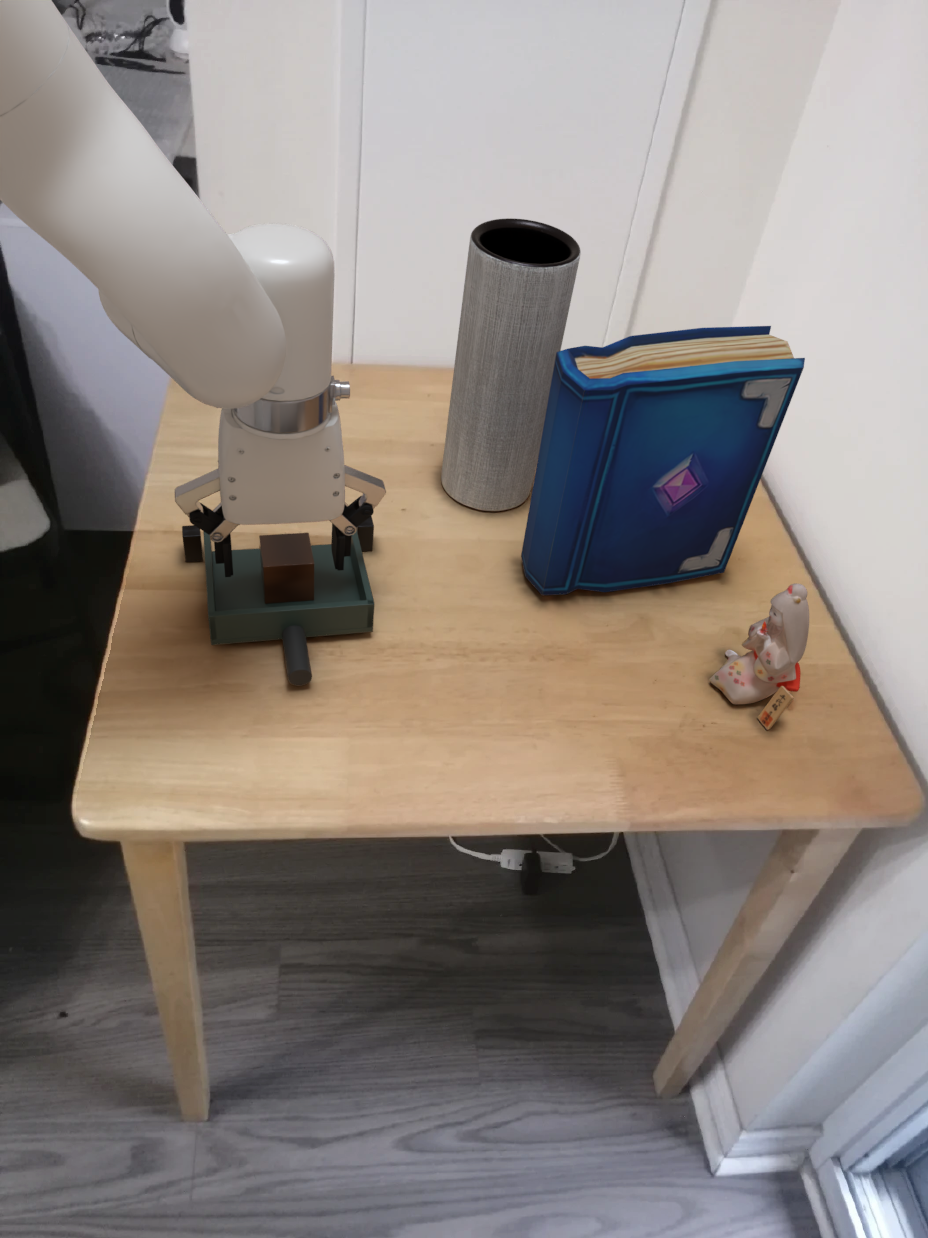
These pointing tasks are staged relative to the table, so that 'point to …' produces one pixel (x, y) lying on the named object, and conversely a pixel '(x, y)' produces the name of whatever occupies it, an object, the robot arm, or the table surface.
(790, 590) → the figurine
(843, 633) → the table surface
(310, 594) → the block
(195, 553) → the pair of dark blocks
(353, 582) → the dustpan
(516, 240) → the planter
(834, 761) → the table surface
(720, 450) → the book
